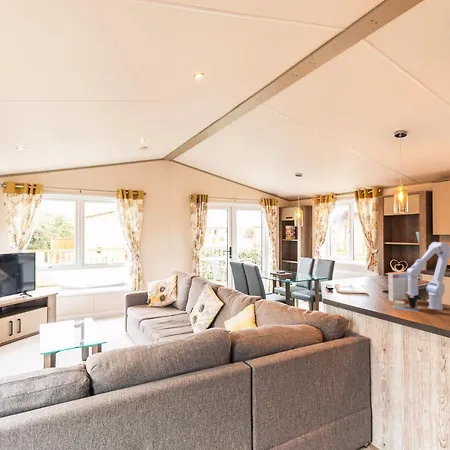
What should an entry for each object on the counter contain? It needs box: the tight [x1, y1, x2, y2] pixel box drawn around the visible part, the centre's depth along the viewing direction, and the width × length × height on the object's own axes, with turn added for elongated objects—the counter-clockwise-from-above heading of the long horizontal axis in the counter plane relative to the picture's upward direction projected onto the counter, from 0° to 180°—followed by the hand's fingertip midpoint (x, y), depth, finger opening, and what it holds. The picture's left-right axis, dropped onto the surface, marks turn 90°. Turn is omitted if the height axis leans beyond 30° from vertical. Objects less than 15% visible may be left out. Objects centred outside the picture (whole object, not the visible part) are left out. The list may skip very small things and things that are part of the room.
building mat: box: [390, 304, 422, 313], centre depth 223 cm, size 14×16×1 cm
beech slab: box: [393, 301, 406, 308], centre depth 226 cm, size 6×6×3 cm
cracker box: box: [387, 271, 409, 303], centre depth 242 cm, size 14×6×21 cm, turn 100°
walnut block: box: [408, 300, 418, 310], centre depth 219 cm, size 4×4×5 cm
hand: (413, 306), depth 219 cm, fingers open, 4 cm apart
